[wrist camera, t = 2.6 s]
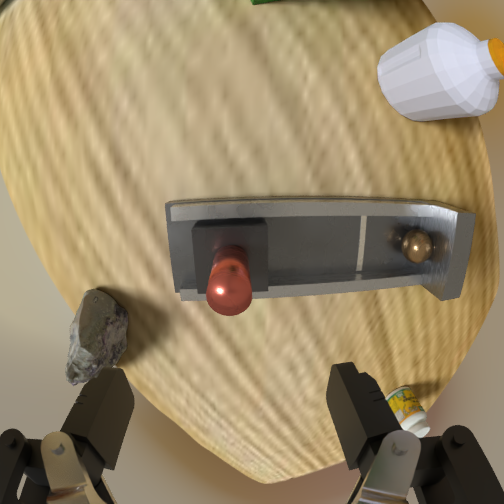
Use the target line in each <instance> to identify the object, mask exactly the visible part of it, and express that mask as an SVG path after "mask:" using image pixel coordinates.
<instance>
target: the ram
mask: <svg viewBox="0 0 504 504" xmlns="http://www.w3.org/2000/svg"><path fill="white" fill-rule="evenodd" d="M191 232H192V244H193V255H194V265H195V274H196V283H197V292H198V294H206V299H207V302H208V304H209V306H210V307H211V308H212V309H213V310H214V311H215V312H217V313H219V314H222V315H226V316H234V315H238V314H240V313H242V312H244V311H245V310H246V309H247V308H248V307H249V305H250V304H251V301H252V292H265V291H268V225H267V223H266V221H265V219H264V218H241V219H217V220H197V222H196V223H195V225H194V226H193V228H192V229H191Z"/></svg>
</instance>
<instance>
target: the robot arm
mask: <svg viewBox="0 0 504 504" xmlns="http://www.w3.org/2000/svg"><path fill="white" fill-rule="evenodd" d="M326 400H327V405H328V408H329V411H330V414H331V417H332V420H333V423H334V426H335V429H336V431H337V434H338V437H339V440H340V443H341V446H342V449H343V452H344V455H345V458H346V461H347V465H348V468H349V470H353V469H356V468H359V470H360V473H361V475H360V477H359V479H358V481H357V483H356V485H355V487H354V489H353V491H352V493H351V495H350V496H349V498H348V500H347V502H346V504H409V503H408V501H406V497H407V494H408V491H409V488H410V487H413V488H414V491H415V494H416V497H417V499H418V502H419V504H504V491H503V489H502V487H501V485H500V483H499V481H498V479H497V477H496V475H495V473H494V471H493V469H492V467H491V465H490V463H489V461H488V460H487V458H486V456H485V454H484V452H483V451H482V449H481V447H480V445H479V444H478V442H477V440H476V438H475V437H474V435H473V433H472V432H471V431H470V430H469V429H468V428H467V427H465V426H460V425H455V426H452V427H449V428H448V429H447V430H446V431H445V432H444V433H443V435H442V436H436V437H425V438H419V437H417V436H416V435H415V434H413V433H412V432H409V431H406V430H403V429H402V427H401V425H400V424H399V422H398V420H397V418H396V416H395V414H394V413H393V411H392V409H391V407H390V405H389V403H388V402H387V400H386V399H385V396H384V394H383V393H382V391H381V389H380V387H379V386H378V384H377V382H376V380H375V379H374V378H372V377H371V376H370V375H369V374H367V373H366V372H364V373H359V372H358V370H357V369H356V367H355V365H354V363H353V362H346V363H340V364H334V365H332V367H331V372H330V377H329V382H328V386H327V391H326ZM133 409H134V395H133V393H132V390H131V388H130V385H129V383H128V380H127V378H126V375H125V373H124V371H123V369H121V368H112V367H103V368H102V369H101V371H100V373H99V375H98V377H97V378H95V377H93V378H92V379H91V380H90V381H88V383H86V384H85V385H84V387H83V388H82V391H81V392H80V396H78V398H77V399H76V403H74V405H73V407H72V409H71V411H70V413H69V415H68V416H67V418H66V420H65V422H64V424H63V426H62V428H61V430H60V431H56V432H52V433H49V434H47V435H46V436H45V437H44V438H43V440H38V439H26V438H25V437H24V435H23V434H22V433H21V432H20V431H19V430H17V429H8V430H6V431H4V432H3V433H2V434H1V436H0V504H117V502H116V500H115V498H114V496H113V494H112V492H111V490H110V488H109V486H108V484H107V482H106V480H105V478H104V476H103V475H102V472H103V469H104V468H106V469H110V470H114V469H115V465H116V462H117V458H118V455H119V452H120V449H121V445H122V442H123V439H124V436H125V433H126V430H127V427H128V424H129V420H130V418H131V415H132V412H133ZM23 473H24V474H25V475H26V476H27V478H26V481H25V484H24V487H23V489H22V493H21V496H20V499H19V500H18V498H17V489H18V487H19V484H20V481H21V478H22V476H23Z"/></svg>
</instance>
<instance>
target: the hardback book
mask: <svg viewBox="0 0 504 504" xmlns="http://www.w3.org/2000/svg"><path fill="white" fill-rule="evenodd" d="M273 1H279V0H251V2H252V4H253V5H256V4H261V3H267V2H273Z"/></svg>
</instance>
